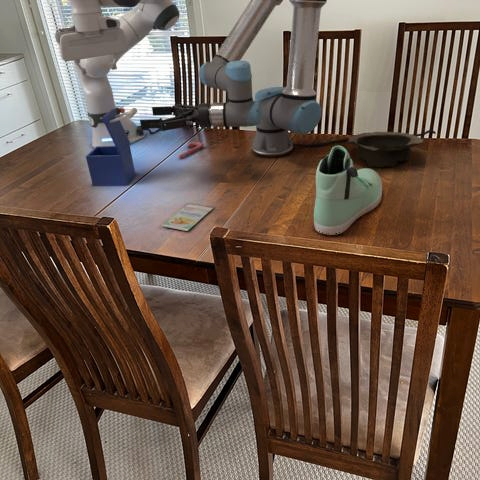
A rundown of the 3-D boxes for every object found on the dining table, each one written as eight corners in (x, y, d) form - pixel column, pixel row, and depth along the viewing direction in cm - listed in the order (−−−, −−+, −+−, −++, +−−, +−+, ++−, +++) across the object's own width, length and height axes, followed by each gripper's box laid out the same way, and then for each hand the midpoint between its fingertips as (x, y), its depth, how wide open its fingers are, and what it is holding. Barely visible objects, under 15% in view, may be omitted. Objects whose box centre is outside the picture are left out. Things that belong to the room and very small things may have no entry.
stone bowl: (380, 178, 154) (381, 150, 149) (333, 160, 174) (332, 135, 170) (437, 159, 162) (439, 132, 158) (385, 144, 183) (386, 120, 178)
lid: (101, 117, 152) (126, 109, 150) (111, 109, 160) (135, 101, 158) (119, 154, 158) (143, 147, 156) (128, 144, 166) (151, 137, 164)
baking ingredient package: (160, 225, 137) (188, 203, 148) (161, 226, 137) (188, 204, 148) (187, 230, 133) (213, 207, 145) (187, 231, 133) (213, 208, 145)
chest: (92, 185, 166) (85, 156, 160) (102, 174, 174) (96, 146, 168) (126, 185, 164) (120, 155, 159) (135, 174, 172) (129, 145, 166)
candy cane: (169, 157, 184) (168, 153, 183) (194, 144, 194) (193, 140, 193) (180, 159, 181) (180, 155, 180) (205, 146, 191) (205, 142, 190)
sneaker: (389, 187, 148) (396, 123, 138) (356, 242, 123) (361, 168, 112) (346, 181, 154) (350, 119, 144) (306, 232, 129) (307, 161, 118)
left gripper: (54, 29, 136) (67, 79, 143) (124, 20, 143) (133, 68, 150) (51, 27, 141) (63, 75, 148) (119, 18, 148) (127, 65, 155)
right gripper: (205, 140, 144) (137, 142, 146) (218, 115, 165) (159, 117, 168) (202, 115, 140) (133, 118, 143) (216, 92, 161) (155, 95, 164)
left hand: (99, 71), depth 149 cm, fingers open, 8 cm apart
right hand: (146, 117), depth 155 cm, fingers open, 13 cm apart
